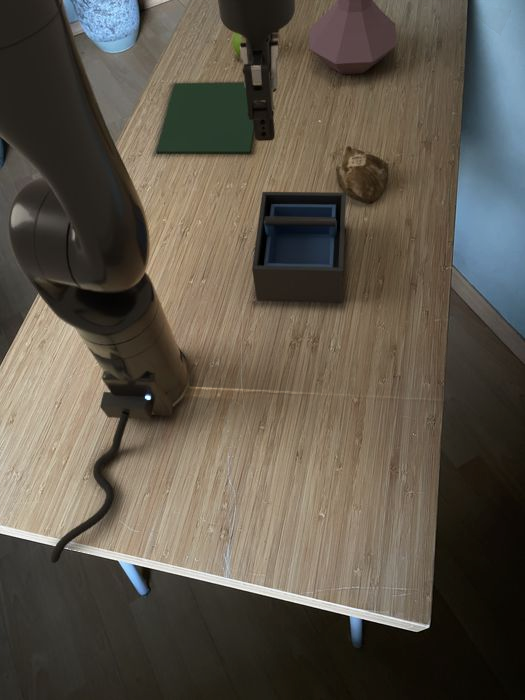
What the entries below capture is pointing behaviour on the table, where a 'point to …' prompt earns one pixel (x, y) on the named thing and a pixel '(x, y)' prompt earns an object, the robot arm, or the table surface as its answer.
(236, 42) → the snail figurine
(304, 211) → the blue bin
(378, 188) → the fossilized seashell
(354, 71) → the flask
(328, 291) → the charcoal bin
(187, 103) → the green mat
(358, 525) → the table surface
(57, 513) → the table surface
